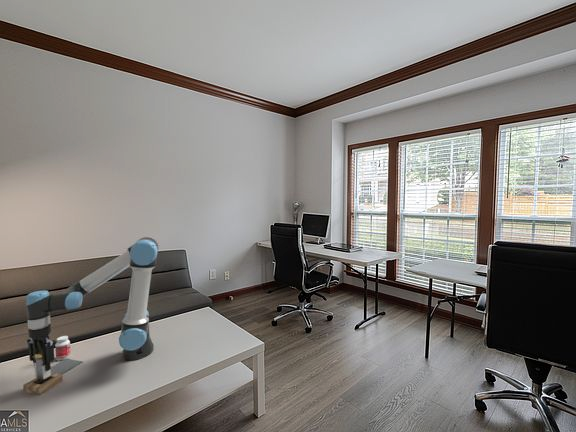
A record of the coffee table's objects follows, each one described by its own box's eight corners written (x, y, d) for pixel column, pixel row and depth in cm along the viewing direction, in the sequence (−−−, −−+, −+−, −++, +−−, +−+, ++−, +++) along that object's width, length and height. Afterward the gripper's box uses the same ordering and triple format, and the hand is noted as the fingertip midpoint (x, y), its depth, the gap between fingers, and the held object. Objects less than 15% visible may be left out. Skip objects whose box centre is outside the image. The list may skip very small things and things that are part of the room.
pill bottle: (70, 358, 146) (68, 338, 146) (55, 362, 143) (53, 341, 142) (71, 353, 151) (70, 333, 151) (57, 356, 148) (55, 337, 147)
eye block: (62, 380, 128) (62, 374, 128) (39, 395, 119) (39, 388, 119) (47, 377, 130) (47, 371, 130) (23, 391, 121) (23, 385, 121)
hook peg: (53, 383, 126) (50, 350, 125) (41, 390, 122) (39, 356, 121) (45, 382, 127) (43, 349, 126) (34, 388, 123) (31, 355, 122)
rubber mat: (82, 362, 143) (82, 361, 142) (60, 375, 132) (60, 374, 132) (66, 359, 145) (66, 358, 145) (43, 372, 135) (43, 371, 135)
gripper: (62, 324, 124) (66, 373, 126) (35, 320, 129) (38, 368, 130) (44, 332, 117) (48, 384, 119) (15, 327, 121) (19, 378, 123)
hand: (43, 376), depth 124 cm, fingers closed on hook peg, 4 cm apart
